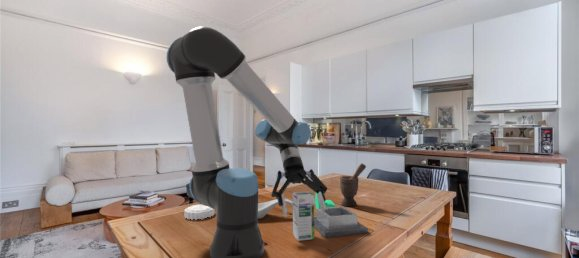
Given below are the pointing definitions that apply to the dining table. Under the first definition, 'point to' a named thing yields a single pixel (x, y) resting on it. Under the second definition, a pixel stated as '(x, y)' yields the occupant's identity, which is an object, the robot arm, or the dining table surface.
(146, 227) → the dining table surface
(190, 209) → the mooncake
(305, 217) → the syrup box
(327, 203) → the camera mount
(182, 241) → the dining table surface
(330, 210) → the docking sleeve
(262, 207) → the spoon rest
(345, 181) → the mortar and pestle
